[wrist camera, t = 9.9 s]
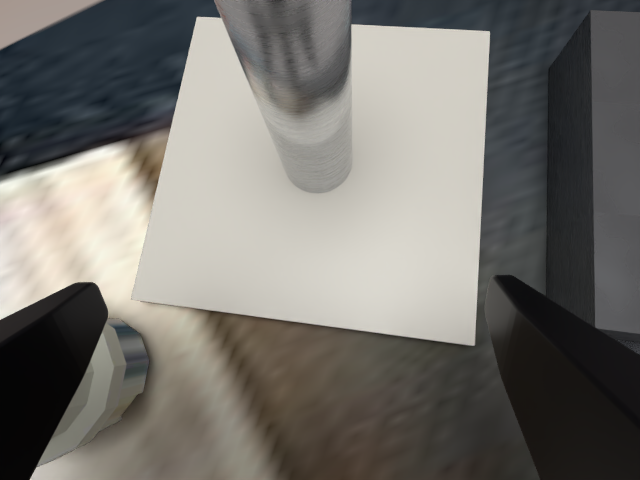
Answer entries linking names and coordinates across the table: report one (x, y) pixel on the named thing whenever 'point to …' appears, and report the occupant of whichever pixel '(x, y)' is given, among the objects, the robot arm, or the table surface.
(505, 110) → the table surface
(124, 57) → the table surface
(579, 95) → the grey square frame block
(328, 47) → the black knobbed metal rod
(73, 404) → the grey rounded bar
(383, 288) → the pad
